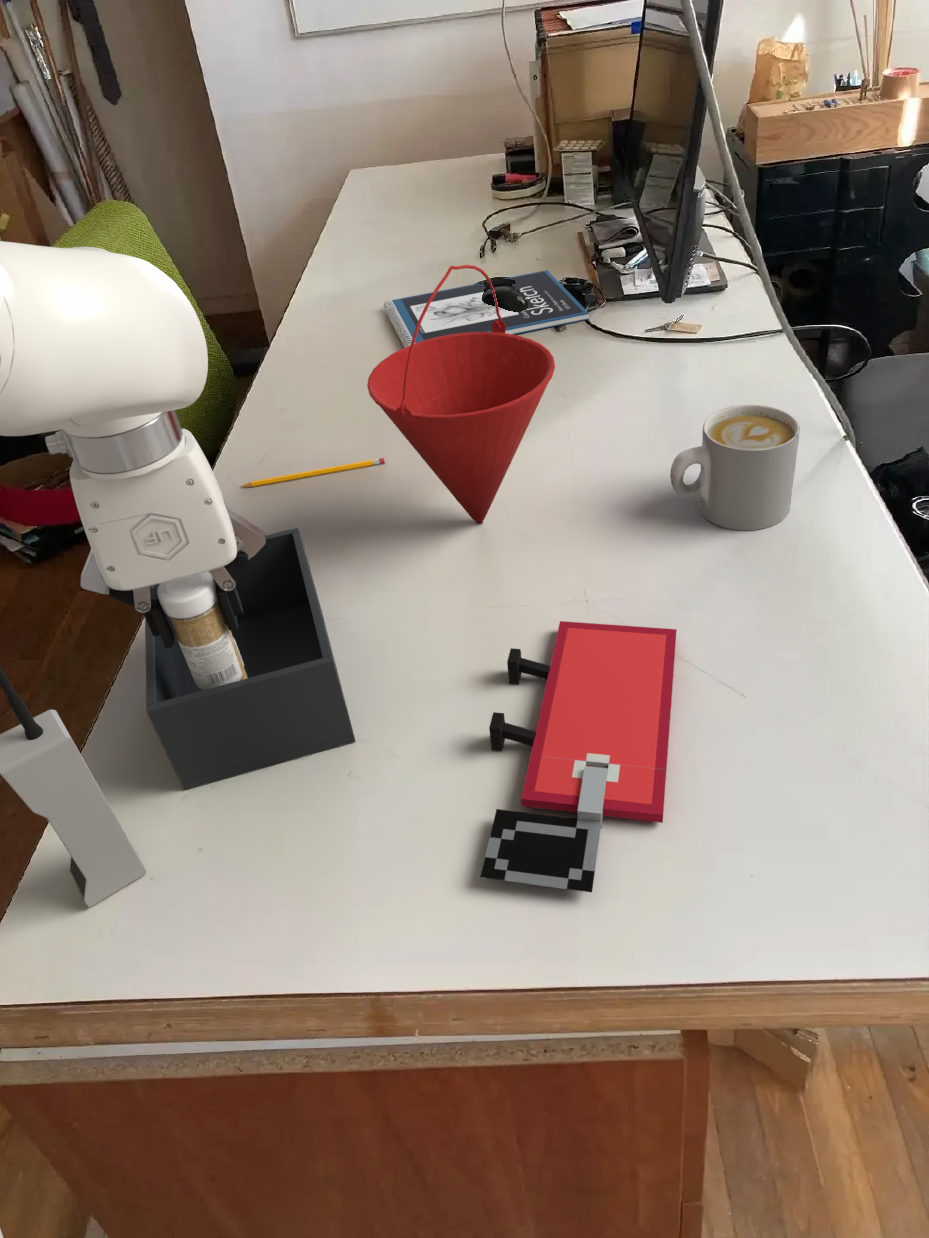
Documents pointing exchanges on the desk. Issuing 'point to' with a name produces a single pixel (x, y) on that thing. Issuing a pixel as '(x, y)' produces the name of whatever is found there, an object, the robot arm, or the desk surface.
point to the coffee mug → (742, 467)
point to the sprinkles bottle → (202, 630)
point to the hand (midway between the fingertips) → (201, 627)
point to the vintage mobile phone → (67, 800)
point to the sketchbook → (485, 310)
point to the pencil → (314, 473)
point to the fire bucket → (465, 402)
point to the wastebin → (254, 679)
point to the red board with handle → (585, 750)
